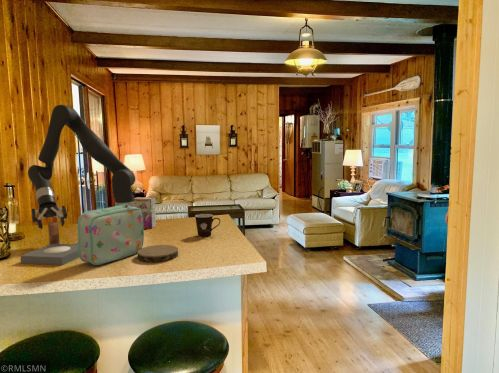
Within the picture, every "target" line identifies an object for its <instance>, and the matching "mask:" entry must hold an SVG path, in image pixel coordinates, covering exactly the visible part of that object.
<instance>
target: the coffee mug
mask: <svg viewBox="0 0 499 373" xmlns="http://www.w3.org/2000/svg"><path fill="white" fill-rule="evenodd" d="M213 216H214V215H213V214H209V213H201V214H195V216H194V217H195V224H196V230H197V231H196V232H197V237H199V238H207V237H208V236H209V237H211V236H212V232H213V230H214V229H216V228H217V227H218V226H219V225H221V219H220V218H218V217H214V218H213ZM214 220H218V221H219V222H218V224H217V225H215V226H214V227H213V222H214Z"/></svg>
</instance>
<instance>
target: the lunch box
mask: <svg viewBox="0 0 499 373" xmlns="http://www.w3.org/2000/svg"><path fill="white" fill-rule="evenodd" d="M144 229H145V228H144V218H143V212H142V210H141V209H139V208H136V207H131V206H128V204H122V205H118V206H115V205H114V206H109V207H106V208H99V209H93V210H92V209H91V210H87V211H84V212H83V213H81V214H80V215H79V217H78V219H77V244H78V254H79V260H81V262H83V263H84V262H85V263H89V264H92V265H93V266H100V265H101V266H102V265H104V264H107V263H110V262H114V261H116V260H117V261H118V260H123V259H125V258H127V257H130V256H133V255H136V254H138V250H140V249H142V248H143V246H144V236H145V235H144V234H145V233H144V232H145V230H144Z"/></svg>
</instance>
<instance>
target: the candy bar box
mask: <svg viewBox="0 0 499 373" xmlns="http://www.w3.org/2000/svg"><path fill="white" fill-rule="evenodd" d="M134 205H135V207H136V208H139V209H141V210H142V212H143V218H144V229H154V228H156V227H157V220H156V217H157V216H156V213H157V212H156V198H155V197H141V196H140V197H139V196H138V197H134Z"/></svg>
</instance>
